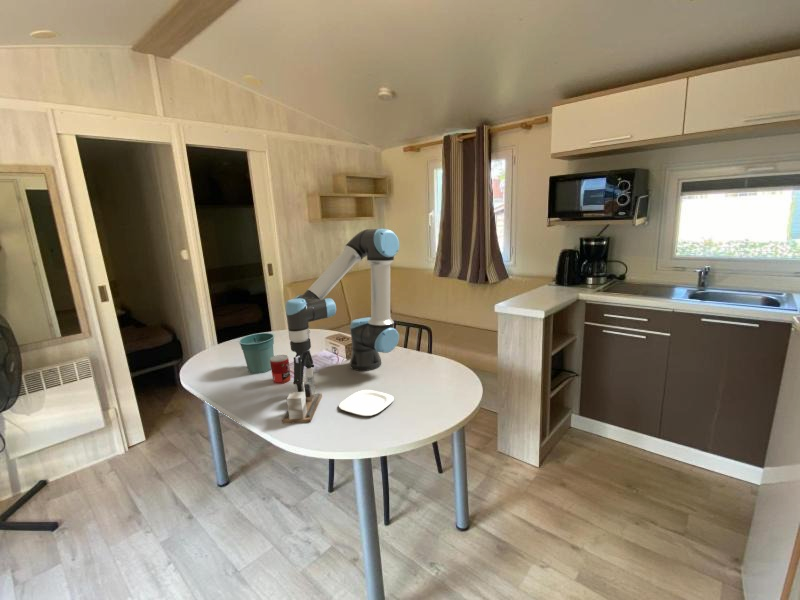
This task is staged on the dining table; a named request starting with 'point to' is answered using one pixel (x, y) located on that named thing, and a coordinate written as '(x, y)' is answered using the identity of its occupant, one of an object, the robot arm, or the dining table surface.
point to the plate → (366, 402)
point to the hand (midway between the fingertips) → (306, 390)
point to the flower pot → (258, 351)
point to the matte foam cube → (309, 388)
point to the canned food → (280, 369)
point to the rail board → (300, 408)
